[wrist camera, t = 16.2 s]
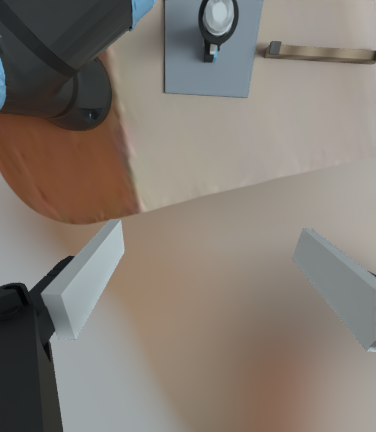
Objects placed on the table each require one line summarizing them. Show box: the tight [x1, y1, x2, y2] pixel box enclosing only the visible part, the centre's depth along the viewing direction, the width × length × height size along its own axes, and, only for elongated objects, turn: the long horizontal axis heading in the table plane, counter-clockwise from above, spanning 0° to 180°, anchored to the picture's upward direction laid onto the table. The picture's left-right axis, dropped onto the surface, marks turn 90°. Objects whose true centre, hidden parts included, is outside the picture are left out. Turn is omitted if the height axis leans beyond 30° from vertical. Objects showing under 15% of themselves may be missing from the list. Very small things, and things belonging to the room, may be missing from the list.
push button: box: [198, 0, 239, 63], centre depth 27 cm, size 7×5×10 cm
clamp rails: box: [264, 41, 376, 64], centre depth 30 cm, size 20×12×3 cm, turn 87°
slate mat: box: [165, 0, 263, 98], centre depth 32 cm, size 16×16×1 cm
